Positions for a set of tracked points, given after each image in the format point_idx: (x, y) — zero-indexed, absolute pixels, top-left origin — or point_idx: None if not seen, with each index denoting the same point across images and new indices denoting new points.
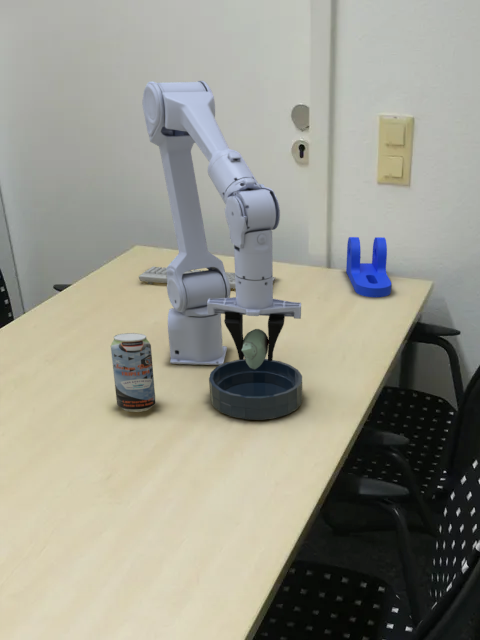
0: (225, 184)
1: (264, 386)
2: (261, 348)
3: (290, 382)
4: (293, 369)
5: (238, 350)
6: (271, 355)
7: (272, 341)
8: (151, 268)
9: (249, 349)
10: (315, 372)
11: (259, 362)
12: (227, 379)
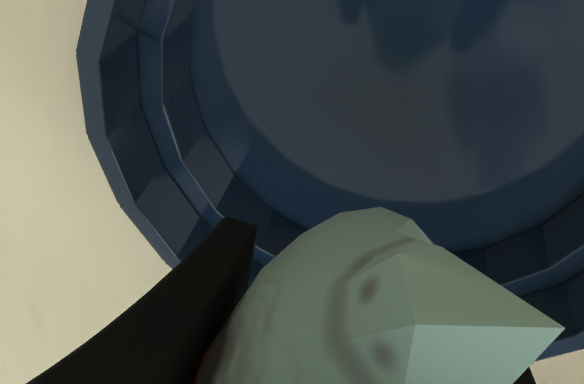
0: None
1: (328, 206)
2: (274, 319)
3: (188, 162)
4: (143, 214)
5: (525, 377)
6: (204, 246)
7: (115, 361)
8: None
9: (441, 314)
10: (116, 260)
11: (333, 222)
12: (519, 270)
